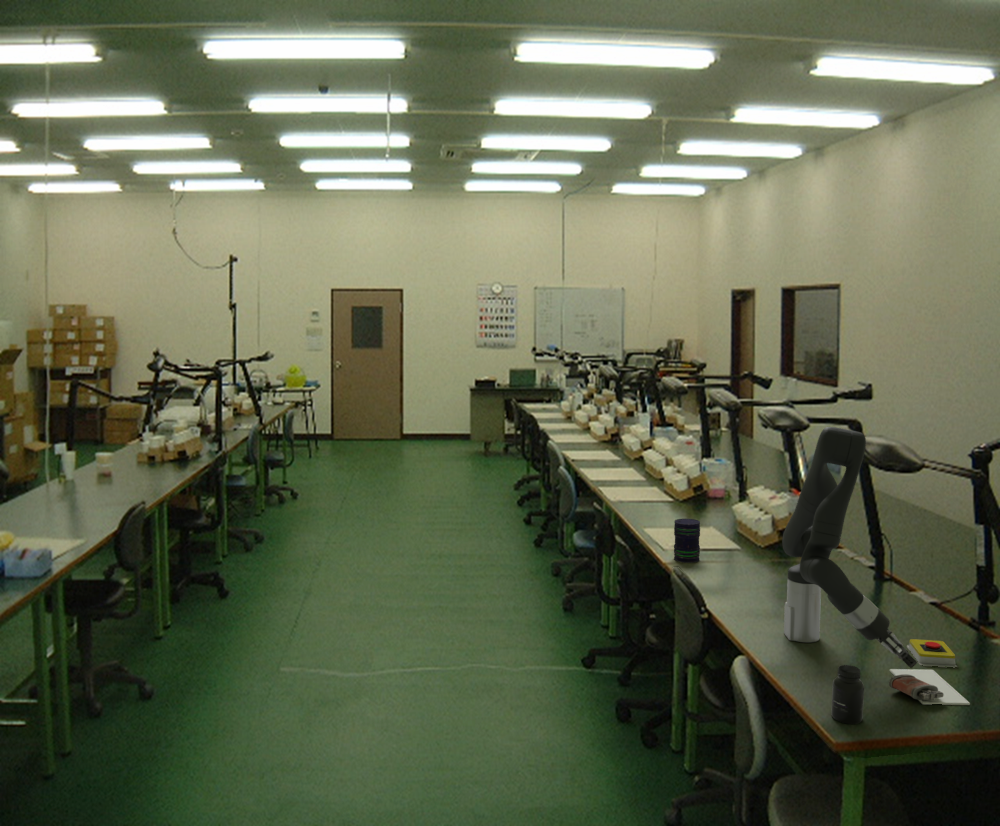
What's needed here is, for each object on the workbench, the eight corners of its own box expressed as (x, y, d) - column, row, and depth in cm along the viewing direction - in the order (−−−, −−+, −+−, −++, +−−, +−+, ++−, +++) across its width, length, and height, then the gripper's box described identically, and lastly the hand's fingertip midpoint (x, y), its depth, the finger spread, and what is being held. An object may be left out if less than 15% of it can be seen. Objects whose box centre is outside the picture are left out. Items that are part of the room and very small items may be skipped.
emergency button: (921, 651, 231) (906, 632, 246) (920, 667, 231) (905, 646, 246) (959, 653, 229) (941, 633, 244) (958, 669, 230) (941, 649, 244)
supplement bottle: (831, 722, 199) (832, 672, 198) (831, 709, 206) (832, 661, 204) (863, 727, 197) (865, 676, 196) (862, 714, 203) (864, 664, 202)
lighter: (888, 689, 215) (921, 705, 206) (889, 675, 215) (922, 691, 205) (912, 686, 218) (946, 702, 209) (913, 673, 218) (947, 688, 208)
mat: (922, 704, 208) (922, 702, 208) (889, 670, 228) (889, 669, 228) (969, 705, 208) (969, 703, 208) (932, 671, 227) (932, 669, 227)
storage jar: (699, 556, 340) (700, 519, 338) (699, 563, 330) (700, 524, 329) (674, 555, 342) (674, 518, 340) (673, 562, 332) (673, 523, 331)
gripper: (886, 615, 210) (936, 664, 210) (866, 597, 223) (913, 644, 223) (863, 636, 211) (912, 685, 211) (844, 617, 224) (891, 664, 224)
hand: (912, 664), depth 217 cm, fingers closed
